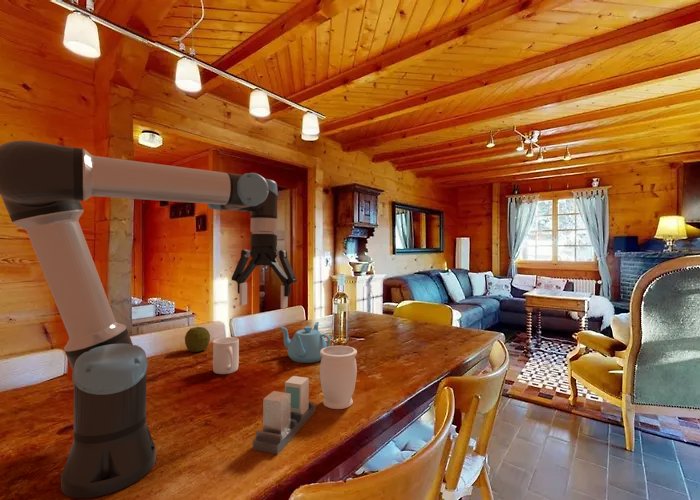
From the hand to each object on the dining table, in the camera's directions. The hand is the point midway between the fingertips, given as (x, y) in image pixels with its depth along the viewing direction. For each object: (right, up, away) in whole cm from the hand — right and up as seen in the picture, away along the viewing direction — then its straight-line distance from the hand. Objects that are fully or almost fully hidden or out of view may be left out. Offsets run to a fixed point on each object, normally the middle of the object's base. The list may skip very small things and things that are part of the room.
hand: (263, 306), depth 100 cm
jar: (+22, -27, -3) cm, 35 cm away
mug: (-18, -27, +21) cm, 38 cm away
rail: (+10, -27, -17) cm, 33 cm away
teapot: (+7, -27, +38) cm, 47 cm away
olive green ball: (-39, -26, +44) cm, 64 cm away
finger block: (+12, -25, -12) cm, 30 cm away
